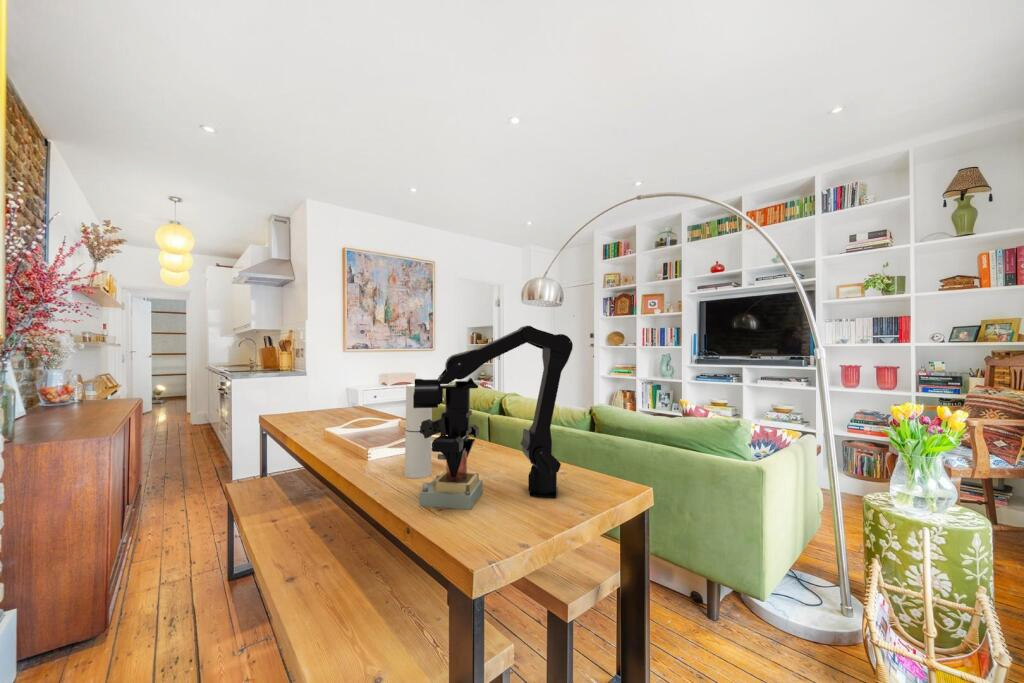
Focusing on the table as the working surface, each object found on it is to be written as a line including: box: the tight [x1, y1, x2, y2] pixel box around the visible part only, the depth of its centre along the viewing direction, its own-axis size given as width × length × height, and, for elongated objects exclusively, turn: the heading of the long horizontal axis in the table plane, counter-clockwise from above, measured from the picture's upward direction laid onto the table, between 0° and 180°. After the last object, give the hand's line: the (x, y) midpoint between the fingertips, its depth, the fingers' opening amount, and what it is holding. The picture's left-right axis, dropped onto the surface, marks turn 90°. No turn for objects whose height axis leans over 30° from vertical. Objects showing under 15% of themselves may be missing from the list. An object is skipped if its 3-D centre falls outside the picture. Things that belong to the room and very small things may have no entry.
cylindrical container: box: [404, 383, 433, 479], centre depth 115 cm, size 7×7×25 cm
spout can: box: [437, 450, 468, 482], centre depth 97 cm, size 7×5×7 cm
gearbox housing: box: [418, 470, 483, 511], centre depth 97 cm, size 14×11×5 cm
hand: (456, 473), depth 97 cm, fingers closed on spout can, 5 cm apart
